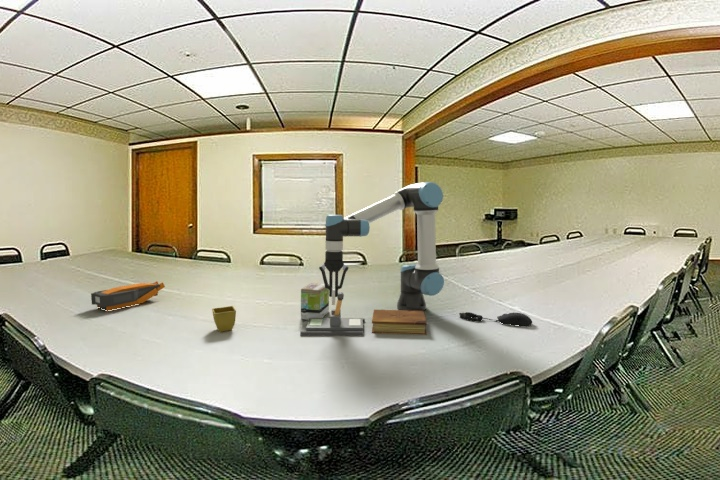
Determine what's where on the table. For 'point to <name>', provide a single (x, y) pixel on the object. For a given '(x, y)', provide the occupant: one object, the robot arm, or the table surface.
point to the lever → (339, 303)
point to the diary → (399, 322)
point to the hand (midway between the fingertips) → (333, 304)
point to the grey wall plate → (332, 333)
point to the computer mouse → (502, 318)
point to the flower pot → (224, 318)
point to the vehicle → (125, 295)
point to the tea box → (314, 301)
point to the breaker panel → (335, 323)
